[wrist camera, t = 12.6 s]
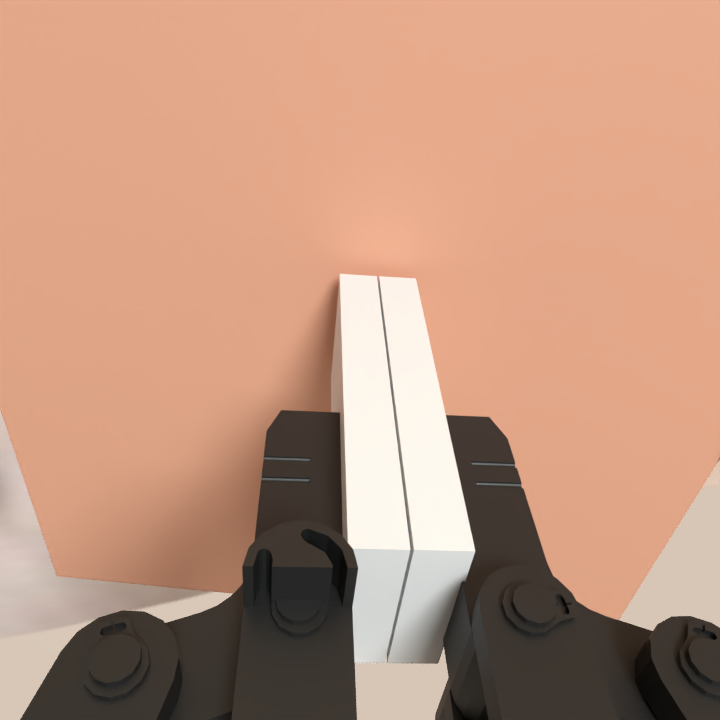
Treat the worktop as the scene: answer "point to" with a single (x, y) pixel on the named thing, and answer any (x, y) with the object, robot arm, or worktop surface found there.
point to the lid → (356, 257)
